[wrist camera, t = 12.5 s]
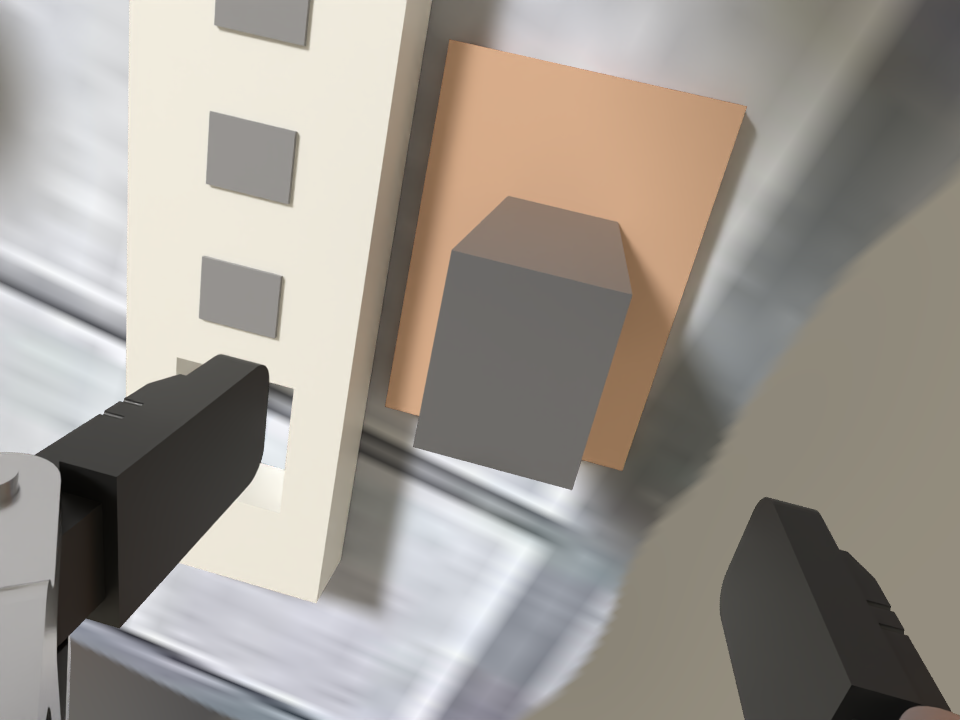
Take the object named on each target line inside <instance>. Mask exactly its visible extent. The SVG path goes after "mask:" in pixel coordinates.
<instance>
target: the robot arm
mask: <svg viewBox="0 0 960 720" xmlns="http://www.w3.org/2000/svg"><path fill="white" fill-rule="evenodd" d="M268 393H269V371H268V368H267V367H266V366H265V365H262V364H258V363H254V362H251V361H247V360H243V359H239V358H235V357H231V356H228V355H224V354H218V355H216V356H214V357H213V358H211V359H210V360H209V361H207V362H206V363H204V364H203V365H201V366H200V367H198V368H197V369H195V370H194V371H192V372H191V373H189V374H188V375H182V374H178V375H175V376H171V377H168V378H165V379H161V380H158V381H155V382H151V383H148V384H146V385H145V386H143V387H142V388H140V389H138V390H137V391H135V392H134V393H132V394H130V395H129V396H127V397H126V398H124V401H123V402H120V401H119V402H118V403H116V404H115V405H113V406H111V407H110V408H108V409H107V410H105V412H104V414H103V415H101V414H99V415H97V416H96V417H94V418H92V419H91V420H89V421H88V422H86V423H85V424H83V425H81V426H80V427H78V428H77V429H75V430H73V431H72V432H70V433H69V434H67V435H66V436H64V437H62V438H61V439H59V440H58V441H56V442H54V443H53V444H51V445H50V446H48V447H47V448H45V449H43V450H42V451H40V452H39V453H37V454H35V455H31V454H25V453H15V452H0V720H69V719H68V718H69V688H70V657H71V646H70V634H71V633H72V632H73V631H74V630H75V629H76V628H77V627H78V626H79V625H80V624H81V623H82V622H83V621H84V620H85V619H86V618H87V619H90V620H93V621H97V622H100V623H103V624H107V625H110V626H114V627H117V628H120V627H121V626H122V625H123V624H124V623H125V622H126V621H127V620H128V618H129V617H130V616H131V615H132V614H133V613H134V612H135V611H136V610H137V608H138V607H139V606H140V605H141V604H142V603H143V602H144V601H145V600H146V599H147V597H148V596H149V595H150V594H151V593H152V592H153V591H154V590H155V589H156V587H157V586H158V585H159V584H160V583H161V582H162V581H163V580H164V579H165V578H166V576H167V575H168V574H169V573H170V572H171V571H172V570H173V569H174V568H175V566H176V565H177V564H178V563H179V562H180V561H181V560H182V559H183V558H184V557H185V555H186V554H187V553H188V552H189V551H190V550H191V549H192V548H193V547H194V545H195V544H196V543H197V542H198V541H199V540H200V539H201V538H202V537H203V536H204V534H205V533H206V532H207V531H208V530H209V529H210V528H211V527H212V526H213V524H214V523H215V522H216V521H217V520H218V519H219V518H220V517H221V516H222V515H223V513H224V512H225V511H226V510H227V509H228V508H229V507H230V506H231V505H232V503H233V502H234V501H235V500H236V499H237V498H238V497H239V496H240V495H241V494H242V492H243V491H244V490H245V489H246V488H247V487H248V486H249V484H250V483H251V482H252V480H253V479H254V477H255V475H256V473H257V471H258V468H259V466H260V463H261V459H262V456H263V451H264V441H265V429H266V417H267V405H268ZM890 608H891V606H890V604H889V602H888V600H887V599H886V597H885V595H884V593H883V592H882V590H881V588H880V586H879V585H878V583H877V581H876V580H875V578H874V577H873V576H872V575H871V574H870V573H869V572H868V571H867V570H866V569H865V568H864V567H862V565H860V564H859V563H858V562H857V561H856V560H855V559H854V558H853V557H852V556H851V555H850V554H849V553H848V552H846V551H842V550H839V548H838V546H837V545H836V543H835V541H834V539H833V537H832V535H831V533H830V531H829V530H828V528H827V526H826V524H825V522H824V520H823V518H822V517H821V515H820V513H819V512H818V511H816V510H814V509H810V508H806V507H802V506H799V505H795V504H791V503H787V502H783V501H779V500H775V499H772V498H768V497H765V498H763V499H761V500H760V501H759V503H758V504H757V505H756V507H755V509H754V511H753V513H752V515H751V518H750V520H749V522H748V525H747V527H746V529H745V531H744V534H743V536H742V538H741V540H740V543H739V545H738V547H737V549H736V552H735V554H734V556H733V559H732V561H731V563H730V565H729V568H728V570H727V572H726V575H725V578H724V581H723V584H722V589H721V595H720V616H721V621H722V625H723V629H724V633H725V637H726V642H727V646H728V650H729V654H730V659H731V663H732V667H733V671H734V676H735V680H736V684H737V689H738V693H739V697H740V701H741V705H742V710H743V714H744V718H745V720H960V715H957V714H955V713H953V712H951V710H950V708H949V706H948V705H947V703H946V701H945V699H944V698H943V696H942V694H941V692H940V691H939V689H938V687H937V686H936V684H935V682H934V680H933V678H932V677H931V675H930V673H929V672H928V670H927V668H926V666H925V665H924V663H923V661H922V659H921V658H920V656H919V654H918V652H917V651H916V649H915V648H914V646H913V644H912V642H911V640H910V639H909V637H908V636H907V635H904V628H903V626H902V625H901V623H900V621H899V620H898V618H897V616H896V614H895V613H894V612H892V611H890Z"/></svg>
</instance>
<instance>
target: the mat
mask: <svg viewBox="0 0 960 720" xmlns="http://www.w3.org/2000/svg"><path fill="white" fill-rule="evenodd" d="M746 108H747V106H743V105H739V104H734V103H730V102H725V101H721V100H717V99H712V98H708V97H703V96H699V95H694V94H690V93H686V92H681V91H677V90H672V89H668V88H663V87H659V86H654V85H650V84H646V83H641V82H637V81H632V80H628V79H623V78H619V77H614V76H610V75H606V74H601V73H597V72H592V71H588V70H583V69H579V68H575V67H570V66H566V65H561V64H557V63H552V62H548V61H543V60H539V59H535V58H530V57H526V56H521V55H517V54H512V53H508V52H503V51H499V50H495V49H490V48H486V47H481V46H477V45H472V44H468V43H464V42H459V41H455V40H450V39H449V45H448V51H447V56H446V62H445V68H444V73H443V79H442V85H441V90H440V96H439V102H438V108H437V113H436V119H435V125H434V130H433V136H432V142H431V147H430V153H429V159H428V165H427V170H426V176H425V182H424V187H423V193H422V199H421V204H420V210H419V216H418V222H417V227H416V233H415V239H414V244H413V250H412V256H411V261H410V267H409V273H408V279H407V284H406V290H405V296H404V301H403V307H402V313H401V318H400V324H399V330H398V336H397V341H396V347H395V353H394V358H393V364H392V370H391V375H390V381H389V387H388V393H387V398H386V404H385V407H388V408H391V409H395V410H399V411H402V412H406V413H410V414H414V415H417V416H419V414H420V409H421V404H422V399H423V394H424V388H425V383H426V378H427V373H428V368H429V363H430V358H431V353H432V348H433V342H434V337H435V332H436V327H437V322H438V317H439V312H440V307H441V302H442V296H443V291H444V286H445V281H446V276H447V271H448V266H449V261H450V255H451V250H452V249H453V248H454V247H455V246H456V245H457V244H458V243H459V242H460V241H462V240H463V239H464V238H465V237H466V236H467V235H468V234H469V233H470V232H471V231H472V230H473V229H474V228H475V227H476V226H477V225H478V224H479V223H480V222H481V221H482V220H483V219H484V218H485V217H486V216H487V215H489V214H490V213H491V212H492V211H493V210H494V209H495V208H496V207H497V206H498V205H499V204H500V203H501V202H502V201H503V200H504V199H505V198H506V197H507V196H511V197H515V198H520V199H524V200H528V201H532V202H536V203H540V204H545V205H549V206H553V207H557V208H561V209H566V210H570V211H574V212H578V213H582V214H587V215H591V216H595V217H599V218H603V219H607V220H612V221H616V222H618V224H619V229H620V234H621V239H622V244H623V249H624V254H625V259H626V264H627V269H628V274H629V279H630V285H631V290H632V298H631V301H630V305H629V308H628V311H627V314H626V317H625V321H624V324H623V327H622V330H621V334H620V337H619V340H618V343H617V347H616V350H615V353H614V356H613V359H612V363H611V366H610V369H609V372H608V376H607V379H606V382H605V385H604V389H603V392H602V395H601V398H600V401H599V405H598V408H597V411H596V414H595V418H594V421H593V424H592V427H591V431H590V434H589V437H588V440H587V444H586V447H585V450H584V453H583V456H582V460H584V461H588V462H591V463H595V464H599V465H602V466H606V467H610V468H614V469H617V470H621V471H622V470H623V467H624V465H625V462H626V459H627V456H628V453H629V450H630V447H631V444H632V441H633V438H634V435H635V432H636V430H637V427H638V424H639V421H640V418H641V415H642V412H643V409H644V406H645V403H646V400H647V397H648V394H649V392H650V389H651V386H652V383H653V380H654V377H655V374H656V371H657V368H658V365H659V362H660V359H661V356H662V354H663V351H664V348H665V345H666V342H667V339H668V336H669V333H670V330H671V327H672V324H673V321H674V318H675V316H676V313H677V310H678V307H679V304H680V301H681V298H682V295H683V292H684V289H685V286H686V283H687V281H688V278H689V275H690V272H691V269H692V266H693V263H694V260H695V257H696V254H697V251H698V248H699V245H700V243H701V240H702V237H703V234H704V231H705V228H706V225H707V222H708V219H709V216H710V213H711V210H712V207H713V205H714V202H715V199H716V196H717V193H718V190H719V187H720V184H721V181H722V178H723V175H724V172H725V169H726V167H727V164H728V161H729V158H730V155H731V152H732V149H733V146H734V143H735V140H736V137H737V134H738V132H739V129H740V126H741V123H742V120H743V117H744V114H745V111H746Z"/></svg>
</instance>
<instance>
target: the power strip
mask: <svg viewBox="0 0 960 720" xmlns="http://www.w3.org/2000/svg"><path fill="white" fill-rule="evenodd" d="M431 4H432V0H129V106H128V222H127V338H126V397H127V396H129V395H130V394H132V393H134V392H135V391H137V390H138V389H140V388H142V387H143V386H145V385H146V384H148V383H151V382H155V381H158V380H161V379H165V378H168V377H171V376H175V375H178V374H182V375H188V374H189V373H191V372H192V371H194V370H195V369H197V368H198V367H200V366H201V365H203V364H204V363H206V362H207V361H209V360H210V359H211V358H213V357H214V356H216V355H218V354H224V355H228V356H231V357H235V358H239V359H243V360H247V361H251V362H254V363H258V364H262V365H265V366H266V367H267V368H268V371H269V382H270V383H274V384H278V385H282V386H285V387H289V388H293V389H294V394H293V402H292V411H291V419H290V428H289V437H288V445H287V454H286V463H285V470H284V469H281V468H277V467H273V466H270V465H266V464H263V463H260V466H259V468H258V471H257V473H256V475H255V477H254V479H253V480H252V482H251V483H250V484H249V486H248V487H247V488H246V489H245V490H244V491H243V492H242V494H241V495H240V496H239V497H238V498H237V499H236V500H235V501H234V502H233V503H232V505H231V506H230V507H229V508H228V509H227V510H226V511H225V512H224V513H223V515H222V516H221V517H220V518H219V519H218V520H217V521H216V522H215V523H214V524H213V526H212V527H211V528H210V529H209V530H208V531H207V532H206V533H205V534H204V536H203V537H202V538H201V539H200V540H199V541H198V542H197V543H196V544H195V545H194V547H193V548H192V549H191V550H190V551H189V552H188V553H187V554H186V555H185V557H184V558H183V559H182V560H181V561H180V562H179V563H181V564H185V565H188V566H191V567H195V568H198V569H202V570H205V571H208V572H212V573H215V574H219V575H222V576H225V577H229V578H232V579H236V580H239V581H242V582H246V583H249V584H252V585H256V586H259V587H263V588H266V589H269V590H273V591H276V592H280V593H283V594H286V595H290V596H293V597H296V598H300V599H303V600H307V601H310V602H313V603H317V601H318V600H319V598H320V596H321V594H322V592H323V591H324V589H325V587H326V585H327V584H328V582H329V580H330V578H331V577H332V575H333V573H334V571H335V570H336V568H337V566H338V564H339V563H340V561H341V556H342V550H343V544H344V538H345V532H346V525H347V519H348V513H349V507H350V501H351V495H352V489H353V483H354V476H355V470H356V464H357V458H358V452H359V446H360V440H361V433H362V427H363V421H364V415H365V409H366V403H367V397H368V391H369V384H370V378H371V372H372V366H373V360H374V354H375V348H376V342H377V335H378V329H379V323H380V317H381V311H382V305H383V299H384V292H385V286H386V280H387V274H388V268H389V262H390V256H391V250H392V243H393V237H394V231H395V225H396V219H397V213H398V207H399V200H400V194H401V188H402V182H403V176H404V170H405V164H406V158H407V151H408V145H409V139H410V133H411V127H412V121H413V115H414V108H415V102H416V96H417V90H418V84H419V78H420V72H421V66H422V59H423V53H424V47H425V41H426V35H427V29H428V23H429V17H430V10H431Z"/></svg>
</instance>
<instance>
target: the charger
mask: <svg viewBox="0 0 960 720" xmlns="http://www.w3.org/2000/svg"><path fill="white" fill-rule="evenodd" d="M631 298H632V290H631V285H630V279H629V274H628V269H627V264H626V259H625V254H624V249H623V244H622V239H621V234H620V229H619V224H618V222H616V221H612V220H607V219H603V218H599V217H595V216H591V215H587V214H582V213H578V212H574V211H570V210H566V209H561V208H557V207H553V206H549V205H545V204H540V203H536V202H532V201H528V200H524V199H520V198H515V197H511V196H507V197H506V198H505V199H504V200H503V201H502V202H501V203H500V204H499V205H498V206H497V207H496V208H495V209H494V210H493V211H492V212H491V213H490V214H489V215H487V216H486V217H485V218H484V219H483V220H482V221H481V222H480V223H479V224H478V225H477V226H476V227H475V228H474V229H473V230H472V231H471V232H470V233H469V234H468V235H467V236H466V237H465V238H464V239H463V240H462V241H460V242H459V243H458V244H457V245H456V246H455V247H454V248H453V249H452V250H451V255H450V261H449V266H448V271H447V276H446V281H445V286H444V291H443V296H442V302H441V307H440V312H439V317H438V322H437V327H436V332H435V337H434V342H433V348H432V353H431V358H430V363H429V368H428V373H427V378H426V383H425V388H424V394H423V399H422V404H421V409H420V414H419V419H418V424H417V429H416V434H415V440H414V445H413V447H415V448H419V449H423V450H426V451H430V452H434V453H437V454H441V455H445V456H448V457H452V458H456V459H459V460H463V461H467V462H471V463H474V464H478V465H482V466H485V467H489V468H493V469H496V470H500V471H504V472H507V473H511V474H515V475H518V476H522V477H526V478H529V479H533V480H537V481H541V482H544V483H548V484H552V485H555V486H559V487H563V488H566V489H570V490H572V489H573V486H574V482H575V479H576V476H577V473H578V469H579V466H580V463H581V460H582V456H583V453H584V450H585V447H586V444H587V440H588V437H589V434H590V431H591V427H592V424H593V421H594V418H595V414H596V411H597V408H598V405H599V401H600V398H601V395H602V392H603V389H604V385H605V382H606V379H607V376H608V372H609V369H610V366H611V363H612V359H613V356H614V353H615V350H616V347H617V343H618V340H619V337H620V334H621V330H622V327H623V324H624V321H625V317H626V314H627V311H628V308H629V305H630V301H631Z"/></svg>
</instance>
